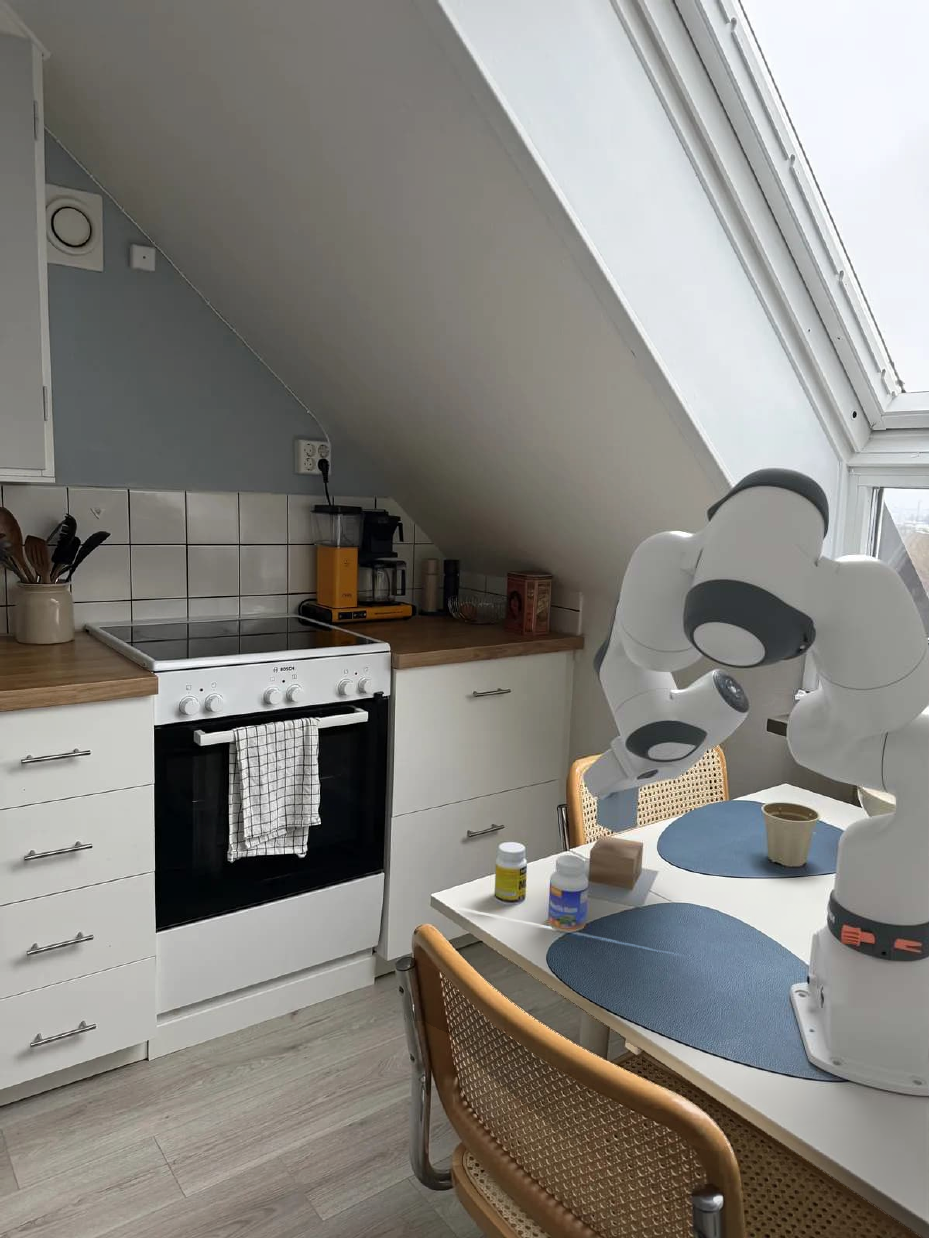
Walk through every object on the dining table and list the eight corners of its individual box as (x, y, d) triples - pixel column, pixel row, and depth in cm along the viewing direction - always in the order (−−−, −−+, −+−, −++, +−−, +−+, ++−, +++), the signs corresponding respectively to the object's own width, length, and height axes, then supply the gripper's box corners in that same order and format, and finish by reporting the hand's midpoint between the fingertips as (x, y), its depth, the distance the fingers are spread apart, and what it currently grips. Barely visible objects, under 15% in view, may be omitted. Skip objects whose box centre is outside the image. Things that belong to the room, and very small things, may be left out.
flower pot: (745, 853, 160) (749, 805, 158) (787, 845, 163) (791, 798, 162) (785, 875, 151) (789, 824, 150) (828, 866, 155) (832, 817, 154)
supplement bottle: (523, 908, 137) (525, 854, 136) (491, 904, 138) (493, 851, 137) (527, 894, 142) (529, 842, 140) (497, 890, 143) (498, 839, 141)
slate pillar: (636, 827, 146) (640, 766, 144) (616, 832, 143) (619, 770, 142) (616, 818, 149) (619, 758, 148) (595, 823, 147) (599, 762, 145)
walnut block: (632, 889, 143) (634, 858, 143) (588, 880, 146) (590, 850, 145) (641, 871, 150) (643, 842, 149) (599, 864, 152) (600, 835, 152)
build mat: (641, 910, 138) (641, 907, 138) (563, 894, 142) (563, 892, 142) (658, 873, 150) (658, 871, 150) (586, 860, 155) (586, 858, 155)
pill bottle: (542, 928, 131) (545, 863, 130) (555, 912, 136) (557, 850, 135) (579, 937, 129) (582, 871, 127) (590, 920, 134) (593, 857, 132)
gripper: (702, 720, 144) (651, 763, 153) (607, 738, 132) (558, 784, 142) (723, 755, 141) (670, 797, 151) (627, 777, 129) (577, 821, 139)
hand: (615, 791), depth 146 cm, fingers closed on slate pillar, 4 cm apart
